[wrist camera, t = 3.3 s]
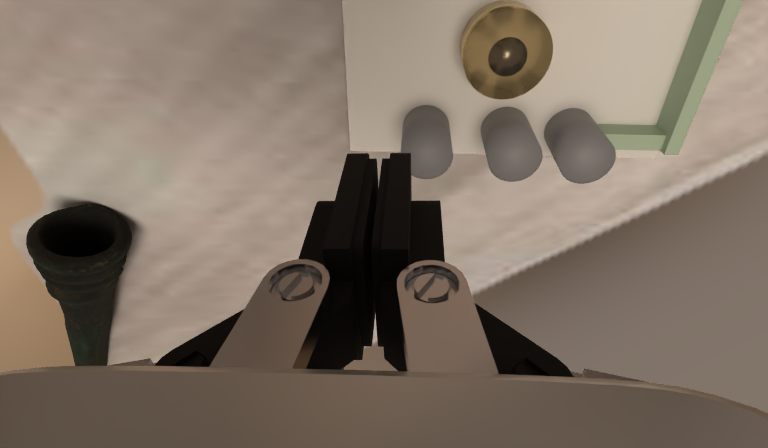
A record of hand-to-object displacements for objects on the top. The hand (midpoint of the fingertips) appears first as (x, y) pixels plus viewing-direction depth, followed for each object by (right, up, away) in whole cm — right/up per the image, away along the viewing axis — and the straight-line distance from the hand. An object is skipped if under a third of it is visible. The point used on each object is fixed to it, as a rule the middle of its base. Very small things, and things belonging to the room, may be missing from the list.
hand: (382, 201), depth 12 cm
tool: (-27, -9, +32) cm, 43 cm away
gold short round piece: (+7, +10, +14) cm, 18 cm away
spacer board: (+8, +10, +14) cm, 19 cm away
